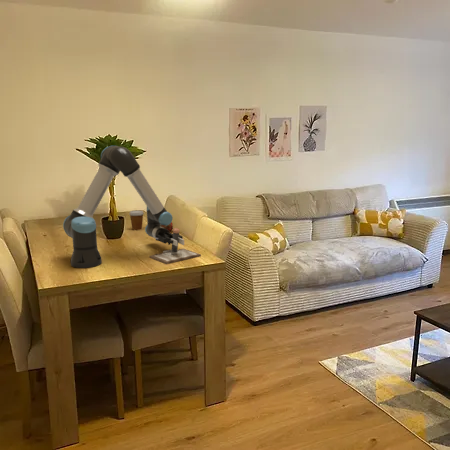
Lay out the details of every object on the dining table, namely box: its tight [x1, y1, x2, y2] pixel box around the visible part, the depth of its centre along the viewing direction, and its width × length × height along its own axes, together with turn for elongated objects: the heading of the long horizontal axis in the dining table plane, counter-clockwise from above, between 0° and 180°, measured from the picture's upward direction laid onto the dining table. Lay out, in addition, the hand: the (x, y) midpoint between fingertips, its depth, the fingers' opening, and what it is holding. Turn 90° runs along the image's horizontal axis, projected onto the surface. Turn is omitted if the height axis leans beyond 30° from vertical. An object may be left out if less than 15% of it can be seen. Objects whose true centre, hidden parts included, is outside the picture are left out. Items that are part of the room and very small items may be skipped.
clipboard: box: [149, 248, 202, 265], centre depth 251 cm, size 22×16×2 cm
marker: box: [171, 227, 180, 255], centre depth 250 cm, size 3×3×14 cm
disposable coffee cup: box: [129, 209, 144, 231], centre depth 315 cm, size 10×10×12 cm
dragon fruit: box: [161, 221, 174, 232], centre depth 308 cm, size 8×8×12 cm
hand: (180, 242), depth 245 cm, fingers closed on marker, 3 cm apart
